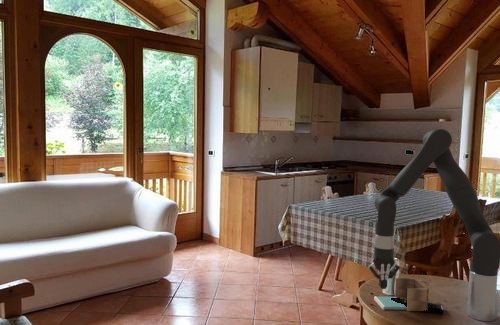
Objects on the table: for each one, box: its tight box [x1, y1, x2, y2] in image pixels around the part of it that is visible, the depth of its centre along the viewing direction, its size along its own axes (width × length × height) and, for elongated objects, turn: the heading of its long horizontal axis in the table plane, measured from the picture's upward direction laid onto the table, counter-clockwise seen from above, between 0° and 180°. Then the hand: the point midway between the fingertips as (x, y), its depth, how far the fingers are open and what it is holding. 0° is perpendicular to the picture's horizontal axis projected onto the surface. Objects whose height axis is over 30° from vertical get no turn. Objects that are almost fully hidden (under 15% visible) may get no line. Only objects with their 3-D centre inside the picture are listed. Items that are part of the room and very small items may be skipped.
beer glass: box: [381, 257, 400, 296], centre depth 178 cm, size 7×7×15 cm
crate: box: [394, 277, 430, 312], centre depth 166 cm, size 8×12×9 cm
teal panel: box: [373, 296, 407, 311], centre depth 166 cm, size 1×10×9 cm
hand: (383, 288), depth 165 cm, fingers closed
